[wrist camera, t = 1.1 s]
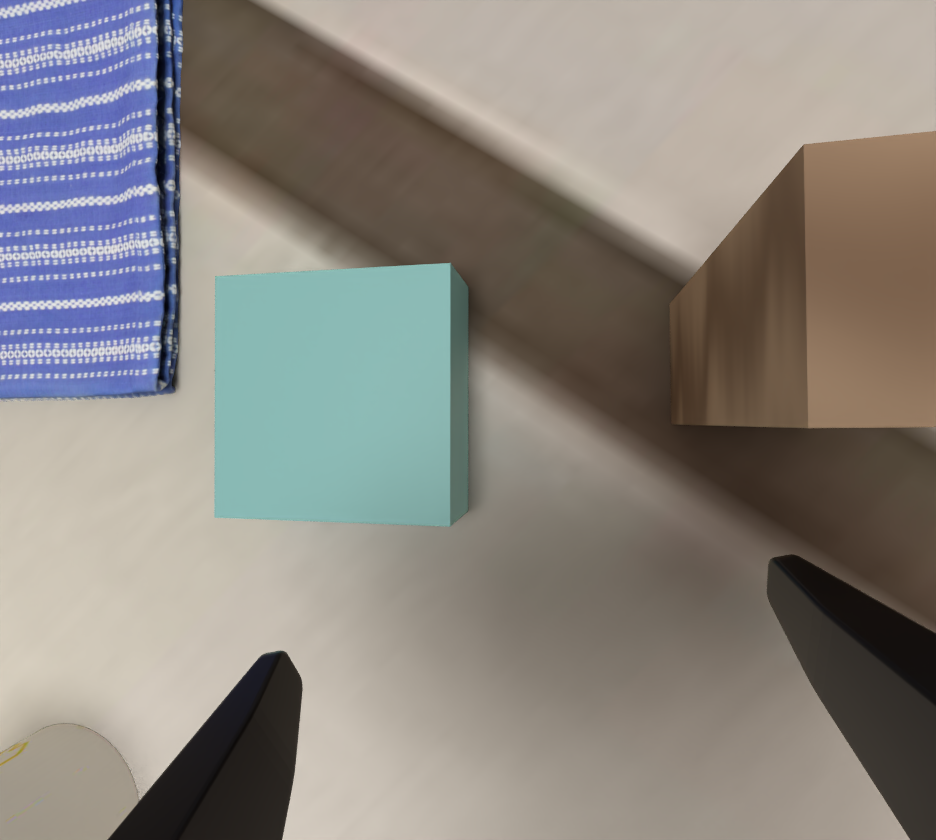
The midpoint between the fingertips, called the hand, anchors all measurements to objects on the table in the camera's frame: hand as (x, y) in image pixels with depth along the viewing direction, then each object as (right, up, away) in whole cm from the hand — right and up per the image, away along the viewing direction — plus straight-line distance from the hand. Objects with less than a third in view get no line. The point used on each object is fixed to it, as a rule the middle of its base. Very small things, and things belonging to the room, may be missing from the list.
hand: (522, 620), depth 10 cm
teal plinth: (-6, +5, +15) cm, 17 cm away
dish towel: (-23, +16, +19) cm, 34 cm away
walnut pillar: (+10, +6, +12) cm, 17 cm away
